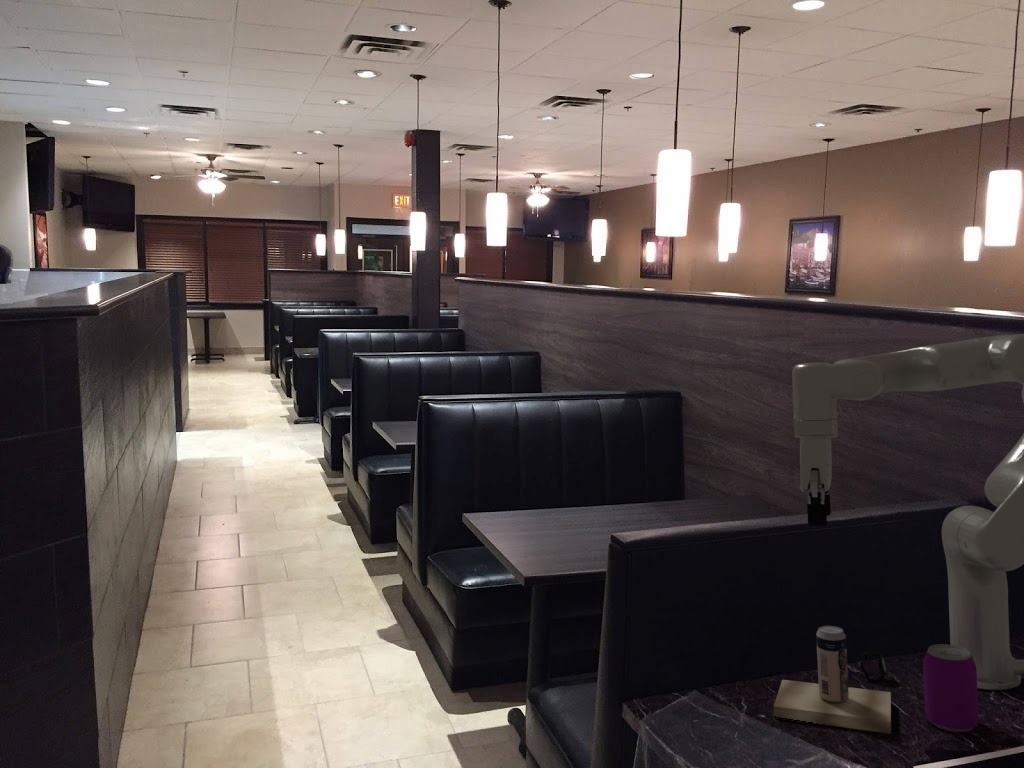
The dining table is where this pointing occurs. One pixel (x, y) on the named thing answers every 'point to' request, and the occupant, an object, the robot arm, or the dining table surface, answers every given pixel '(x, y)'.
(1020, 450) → the robot arm
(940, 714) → the beverage can
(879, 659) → the smartwatch
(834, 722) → the birch board
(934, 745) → the dining table surface
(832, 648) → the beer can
